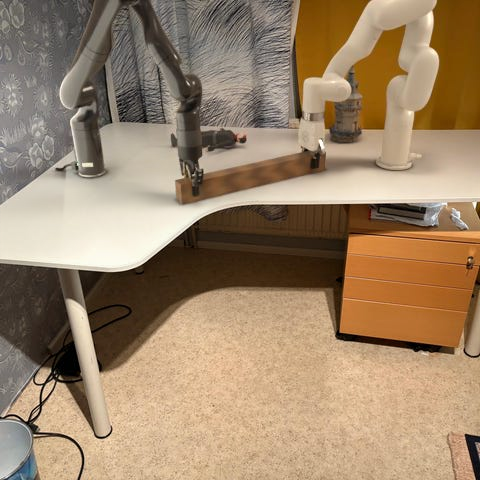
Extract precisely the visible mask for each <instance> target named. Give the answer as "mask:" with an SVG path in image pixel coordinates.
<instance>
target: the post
mask: <svg viewBox="0 0 480 480" xmlns="http://www.w3.org/2000/svg"><path fill="white" fill-rule="evenodd" d="M315 153H317V151H315ZM311 158H313V155H312V151H310V150H309V151H305V152H302V151H301V152H296V153H291V154H287V155H282V156H279V157H278V156H277V157H273V158H269V159H265V160H260V161H256V162H255V161H254V162H251V163H246V164H242V165H237V166H232V167H228V168H224V169H219V170H214V171H211V172H210V171H209V172H206V173H205V172H204V175H203V185H199V191H200V195H199V196H196V197H194V196H193V195H192V183H191V179H189V177H187V178H184V177H183V178H179V179H175V180H174V185H175V196H176V197H175V199H176V201H177V202H178V203H180V204H181V205H186V204H190V203H191V204H192V203H194V202H199V201H202V200H206V199H211V198H216V197H219V196H223V195H227V194H232V193H235V192H240V191H244V190H248V189H251V188H256V187H261V186H264V185H269V184H273V183H277V182H282V181H285V180H290V179H293V178H298V177H301V176H302V177H303V176H306V175H310V174H315V173H318V172H323V171H325V170H326V161H327V160H326V159H327V152H326V151H325V153H324V154H322V156H321V158H320V162H319V168H316V169H311Z"/></svg>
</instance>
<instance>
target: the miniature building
mask: <svg viewBox="0 0 480 480" xmlns="http://www.w3.org/2000/svg"><path fill="white" fill-rule="evenodd" d="M354 66H355V64H354V65H353V66H352V67H351V68H350V69H349V71H348V72H347V74H348V75H347V77H346V79H345V80H346V81H347V82H348V83H349V84H350V86H351V94H350V96H349V98H348V99H346V100H345V101H342V102H333V104H334V124H332V126H331V125H329V126H328V128H329V129H328V131H329V135H331V137H332V141H334V142H338V143H354V142H356V141H357V139H358V138H359V137H360V136H361V135H363V130H362V127H361V125H360V126H359V121H360V116H361V110H362V108H363V103H362V99H363V95H362V94H361V93H360V92H358V87H359V85H360V83H359V81H356V77H355V73H356V71H355V69H354Z"/></svg>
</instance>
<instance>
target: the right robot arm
mask: <svg viewBox="0 0 480 480" xmlns="http://www.w3.org/2000/svg"><path fill="white" fill-rule="evenodd" d="M437 2H438V0H370V1H368V3H367V4H366V6H365V8H364V10H363V11H362V13H361V15H360V17H359V19H358V21H357V22H356V24H355V26H354V28H353V30H352V32H351V34H350V36H349V37H348V39H347V40H346V41H345V44H343V45H342V46H341V48H340V49H339V50H338V51H337V53H335V54H334V55H333V57H332V58H331V60H330V61H329V63H328V65H327V67H326V69H325V70H324V73H323V75H322V77H316V76H315V77H312V76H311V77H308V78H306V79H304V81H303V86H302V89H303V90H302V110H301V111H302V112H301V117H300V121H299V124H298V134H297V135H298V136H297V144H298V145H299V146H300V148H301V152H305V151H309V150H310V151H312V155H313V158H311V169H316V168H319V162H320V158H321V156H322V154H324V153H325V152H326V149H325V144H326V143H325V142H326V127H325V126H326V125H325V113H326V112H325V110H326V102H332V103H334V102H342V101H345V100H346V99H348V98H349V96H350V94H351V86H350V84H349V83H348V82H347V81H346V79H345V77H346V75H347V74H348V73H349V72H348V71H349V70H350V69H351V67H352V66H353V65H354V66H355V64H356V63H358V62H359V61H361V60H363V59H365V58H367V57H369V56H370V55H371V53H372V52H373V50H374V48H375V46H376V45H377V42H378V41H379V39H380V38H381V36H382V33H384V31H391V30H394V29H397V28H399V27H402V26H404V25H405V30H404V34H403V38H402V43H401V46H400V49H399V54H398V59H397V63H398V66H399V68H400V69H401V70H402V71H405V72H406V73H407V75H406V74H398V75H396V76H394V77H392V78H391V79H390V81H389V83H388V84H387V87H386V93H385V94H386V95H385V97H386V99H385V101H386V111H385V120H384V128H383V136H382V137H383V138H382V144H381V153H380V156H378V157H377V158H376V159H375V164H376V165H377V166H378V167H380V168H382V169H385V170H390V171H403V170H407V169H410V168H411V167H412V161H413V160H416V161H418V160H422V154H421V153H415V152H410V147H411V142H412V141H411V140H412V133H413V126H414V122H415V112H419V111H421V110H422V109H423V108H425V107H426V105H427V104H428V102H429V101H430V98H431V95H432V92H433V88H434V85H435V81H436V79H437V75H438V72H439V68H440V67H439V66H440V58H439V54H438V52H437V51H436V50H435V49H434V48H432V47H430V43H431V40H432V35H433V30H434V24H435V23H434V21H435V20H434V19H435V18H434V12H433V10H434V9H435V7H436V5H437ZM354 66H353V67H354ZM315 151H317V153H315Z"/></svg>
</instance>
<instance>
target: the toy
mask: <svg viewBox="0 0 480 480" xmlns="http://www.w3.org/2000/svg"><path fill="white" fill-rule="evenodd" d="M176 134H177V128H176ZM201 135H202V146H207V147H204V148H203V151H204V152H205V153H209V152H210V153H211V152H213V151H215V150H217V149H221V148H226V149H229V148H233V147H234V146H235V145H236V144H237V143H238V144H241V145H244V144H245V143H247V139H248V138H247V134H245V133H241V132H240V133H234V132H233V131H232V130H231V129H224V128H223V127H219V130H214V129H209V130H204V131H202V130H201ZM170 143H171V146H172V147H173V148H174V147H178V146H177V136H176V135H175V133H173V132H171V134H170Z"/></svg>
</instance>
